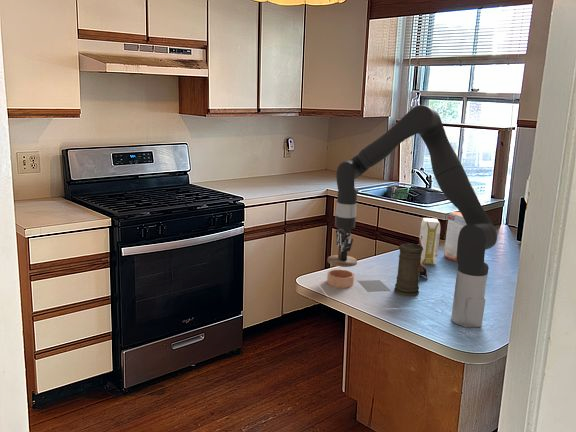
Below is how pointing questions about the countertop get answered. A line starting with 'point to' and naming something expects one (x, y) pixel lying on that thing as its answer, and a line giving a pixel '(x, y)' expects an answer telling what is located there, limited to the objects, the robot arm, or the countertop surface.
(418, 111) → the robot arm
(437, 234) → the juice carton
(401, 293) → the container
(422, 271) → the pottery mug
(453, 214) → the cracker box
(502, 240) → the countertop surface
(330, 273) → the bowl
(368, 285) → the mat
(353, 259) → the lid
